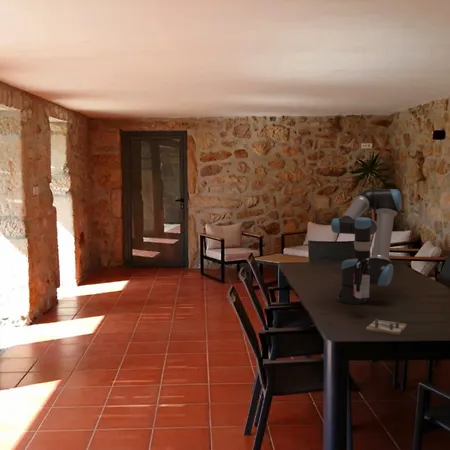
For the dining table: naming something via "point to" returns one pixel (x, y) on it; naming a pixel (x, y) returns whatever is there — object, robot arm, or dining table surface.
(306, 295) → the dining table surface
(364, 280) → the supplement box
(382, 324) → the plate
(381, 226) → the robot arm
